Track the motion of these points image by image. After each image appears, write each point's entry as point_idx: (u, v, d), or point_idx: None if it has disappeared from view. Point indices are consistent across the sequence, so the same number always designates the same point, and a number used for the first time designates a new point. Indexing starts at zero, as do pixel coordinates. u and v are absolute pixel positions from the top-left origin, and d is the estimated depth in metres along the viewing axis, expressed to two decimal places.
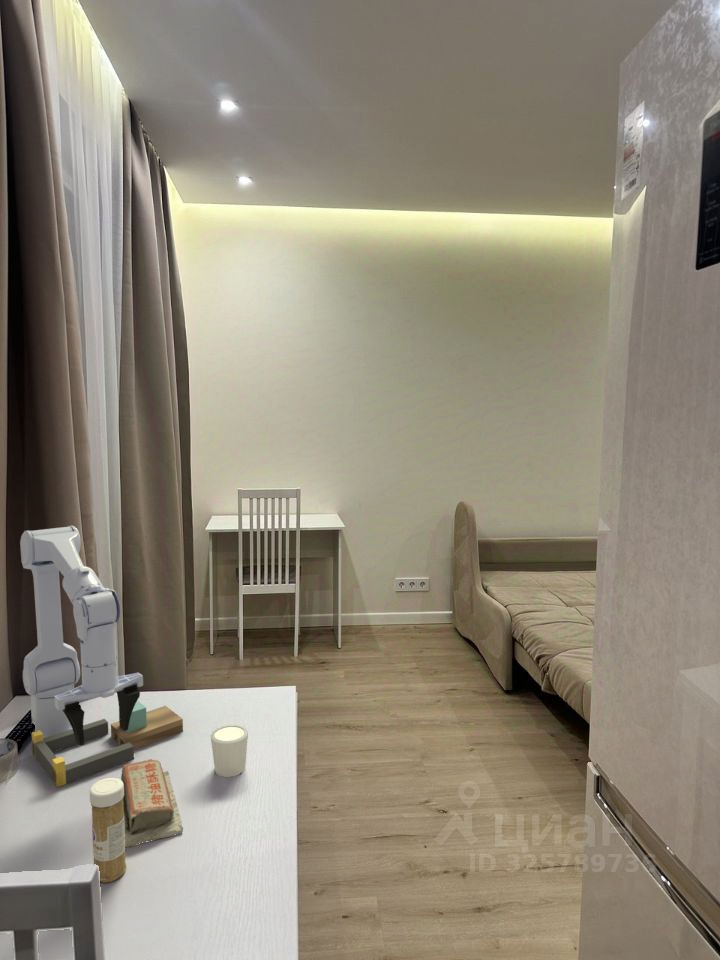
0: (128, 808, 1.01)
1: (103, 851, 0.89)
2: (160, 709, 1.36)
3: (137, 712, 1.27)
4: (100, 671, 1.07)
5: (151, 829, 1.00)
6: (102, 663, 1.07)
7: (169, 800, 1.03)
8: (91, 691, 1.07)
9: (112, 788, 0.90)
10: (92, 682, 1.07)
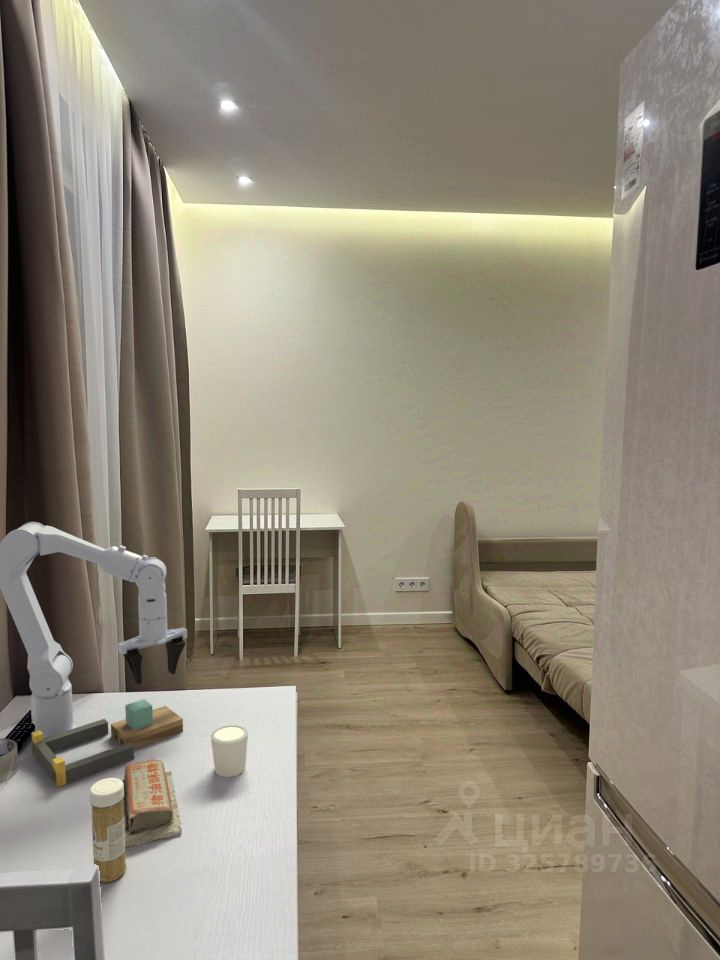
0: (128, 808, 1.01)
1: (103, 851, 0.89)
2: (160, 709, 1.36)
3: (144, 710, 1.28)
4: (154, 623, 1.32)
5: (150, 830, 1.00)
6: (166, 613, 1.34)
7: (169, 801, 1.03)
8: (147, 640, 1.32)
9: (112, 788, 0.90)
10: (148, 632, 1.31)
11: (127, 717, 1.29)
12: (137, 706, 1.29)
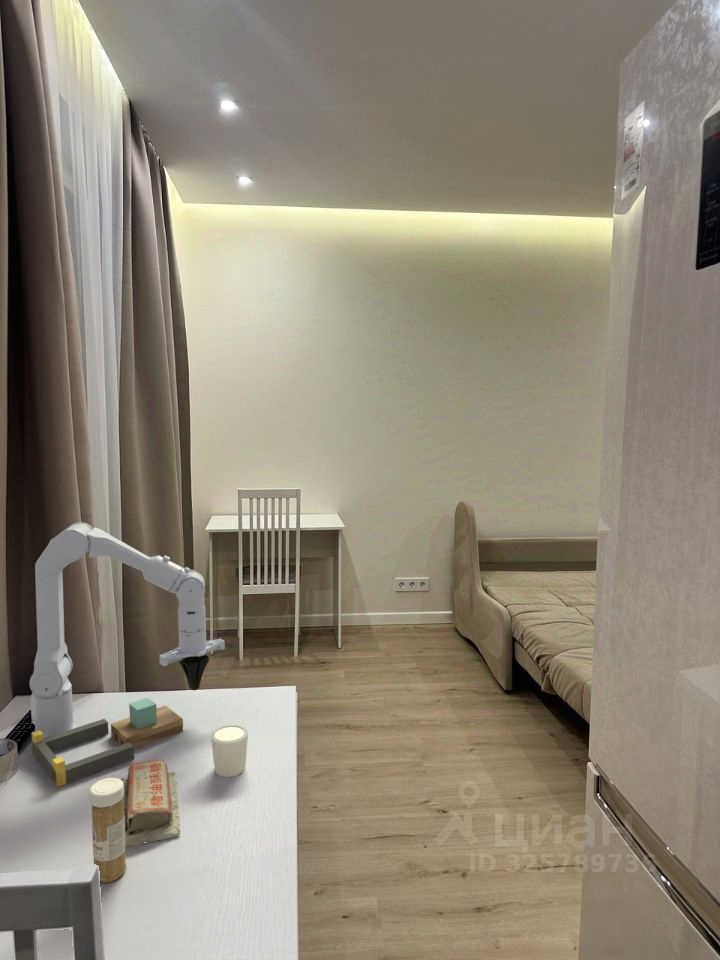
0: (127, 808, 1.01)
1: (103, 851, 0.89)
2: (160, 709, 1.36)
3: (148, 708, 1.29)
4: (195, 635, 1.34)
5: (149, 830, 0.99)
6: (205, 625, 1.37)
7: (169, 802, 1.03)
8: (187, 651, 1.34)
9: (112, 788, 0.89)
10: (188, 644, 1.34)
11: (131, 716, 1.30)
12: (141, 704, 1.30)
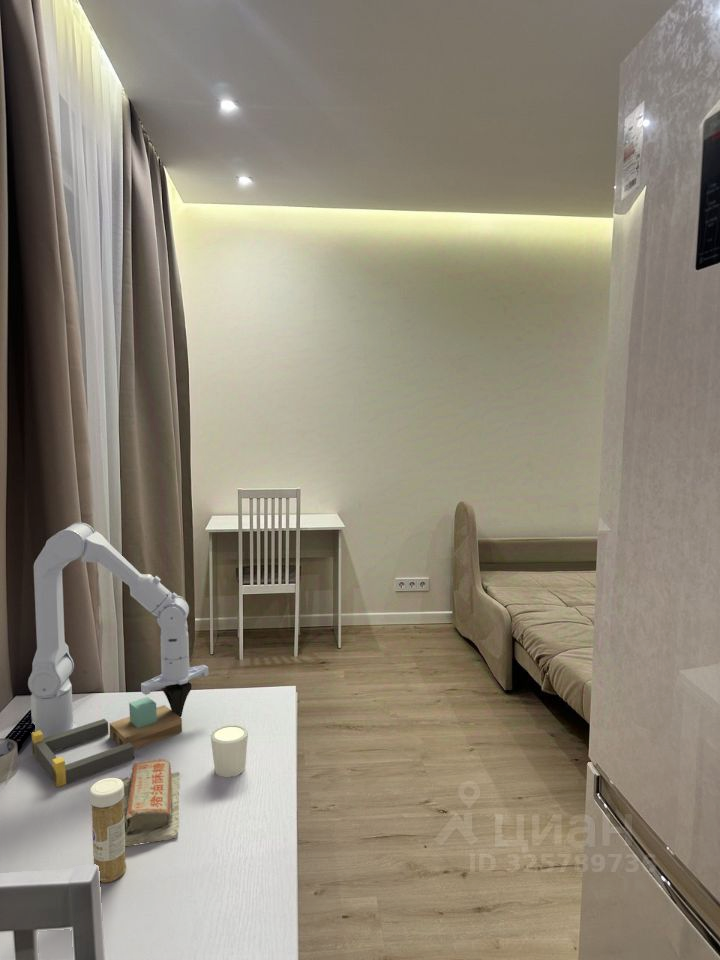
0: (127, 808, 1.01)
1: (103, 851, 0.89)
2: (159, 708, 1.36)
3: (148, 707, 1.29)
4: (177, 663, 1.32)
5: (147, 831, 0.99)
6: (188, 652, 1.34)
7: (168, 803, 1.03)
8: (170, 679, 1.32)
9: (112, 788, 0.90)
10: (170, 672, 1.32)
11: (131, 715, 1.30)
12: (141, 703, 1.30)
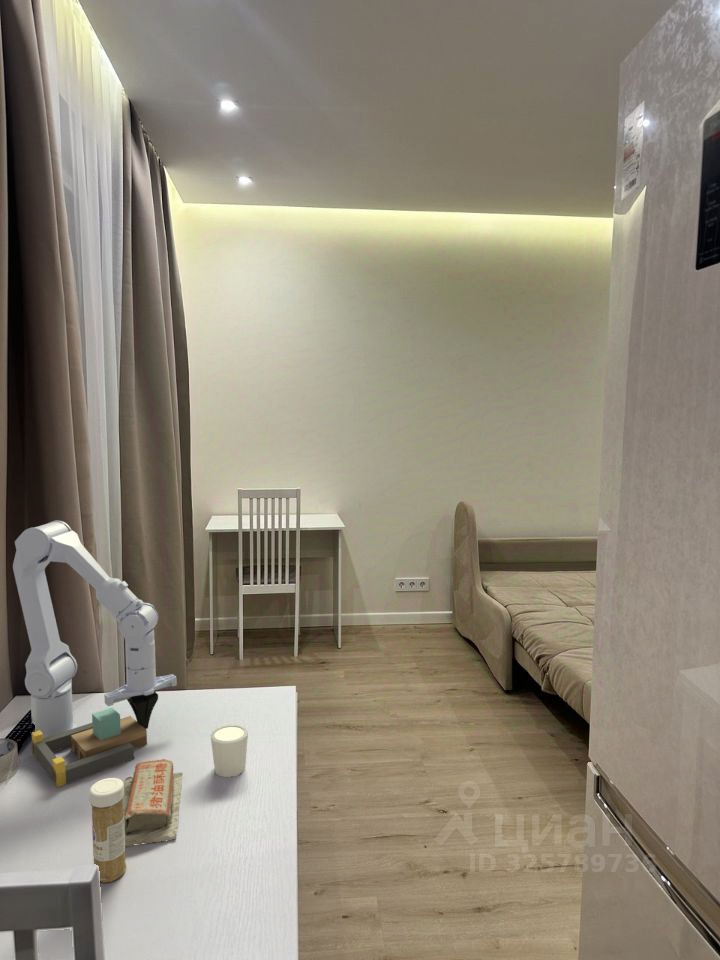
0: (127, 807, 1.01)
1: (103, 851, 0.89)
2: (124, 719, 1.31)
3: (111, 719, 1.24)
4: (142, 673, 1.27)
5: (146, 832, 0.99)
6: (153, 663, 1.28)
7: (168, 804, 1.02)
8: (135, 690, 1.27)
9: (112, 788, 0.90)
10: (135, 682, 1.27)
11: (94, 726, 1.25)
12: (104, 715, 1.25)
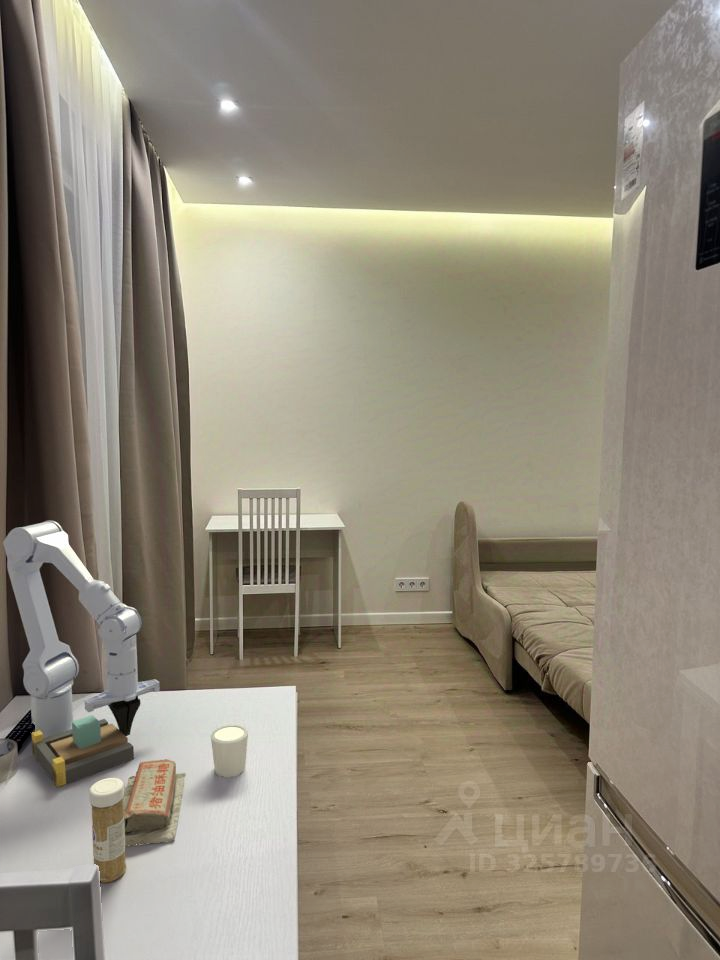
0: (126, 807, 1.01)
1: (103, 851, 0.89)
2: (105, 727, 1.28)
3: (91, 727, 1.21)
4: (123, 678, 1.24)
5: (145, 832, 0.99)
6: (133, 669, 1.25)
7: (167, 805, 1.02)
8: (116, 695, 1.24)
9: (112, 788, 0.89)
10: (116, 688, 1.24)
11: (73, 734, 1.22)
12: (84, 722, 1.22)
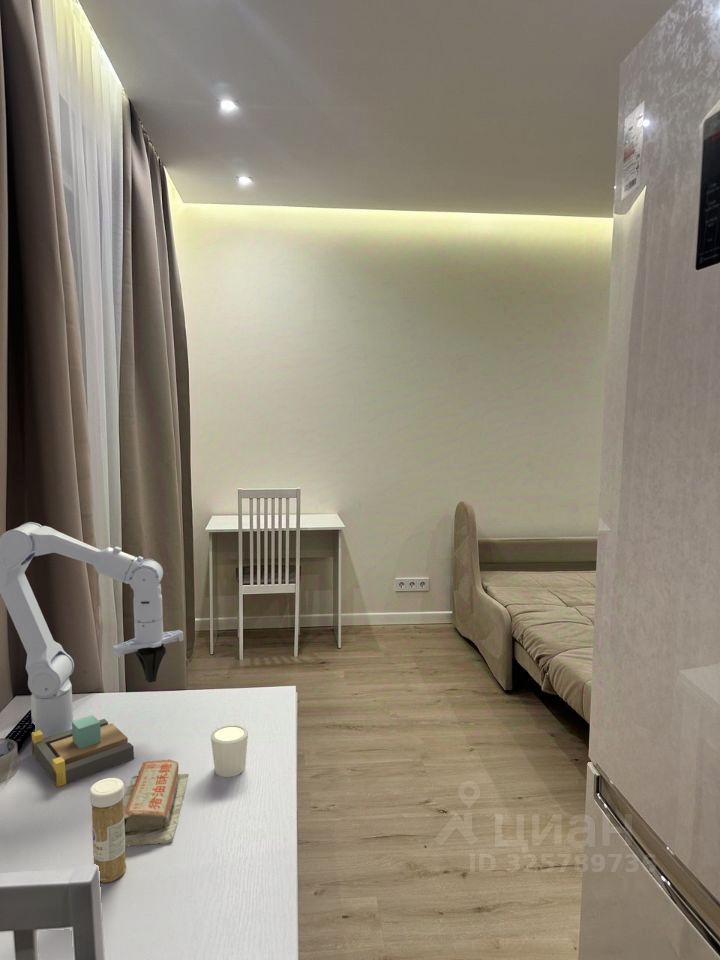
0: (126, 807, 1.01)
1: (103, 851, 0.89)
2: (105, 727, 1.28)
3: (91, 727, 1.21)
4: (150, 626, 1.30)
5: (143, 833, 0.99)
6: (161, 615, 1.32)
7: (167, 806, 1.02)
8: (142, 642, 1.30)
9: (112, 788, 0.89)
10: (143, 635, 1.30)
11: (73, 734, 1.22)
12: (84, 722, 1.22)
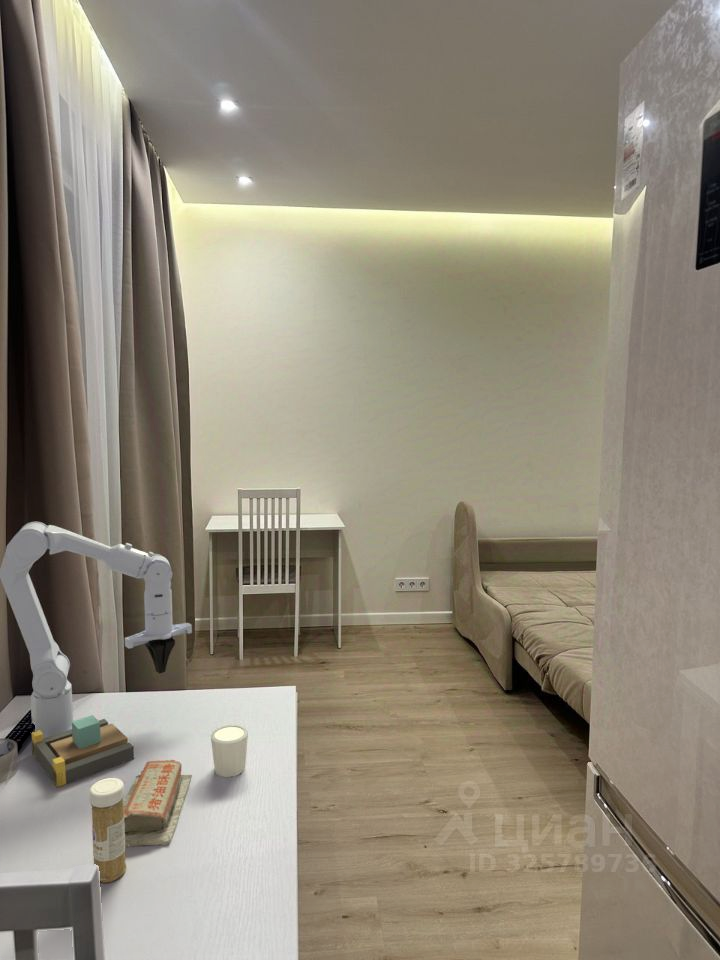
0: (126, 807, 1.01)
1: (103, 851, 0.89)
2: (105, 727, 1.28)
3: (90, 727, 1.21)
4: (160, 618, 1.35)
5: (142, 833, 0.99)
6: None
7: (166, 807, 1.02)
8: (153, 634, 1.35)
9: (112, 788, 0.89)
10: (154, 627, 1.35)
11: (73, 734, 1.22)
12: (84, 722, 1.22)
